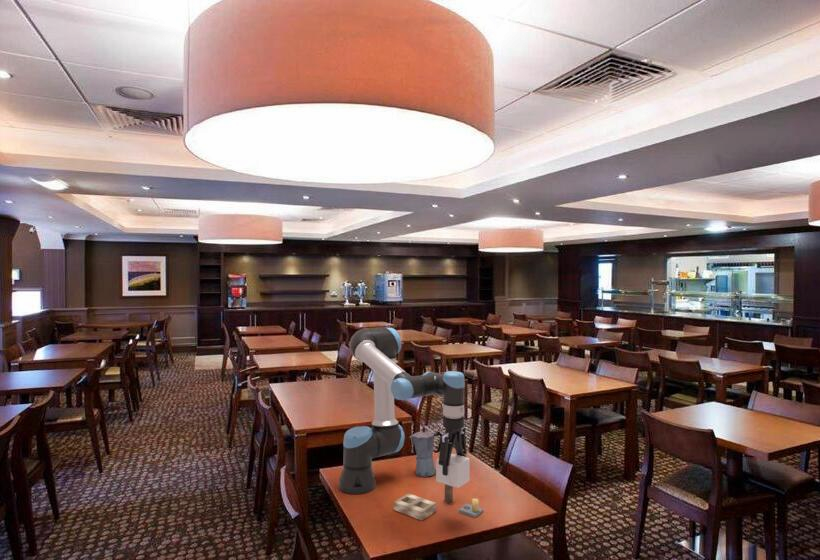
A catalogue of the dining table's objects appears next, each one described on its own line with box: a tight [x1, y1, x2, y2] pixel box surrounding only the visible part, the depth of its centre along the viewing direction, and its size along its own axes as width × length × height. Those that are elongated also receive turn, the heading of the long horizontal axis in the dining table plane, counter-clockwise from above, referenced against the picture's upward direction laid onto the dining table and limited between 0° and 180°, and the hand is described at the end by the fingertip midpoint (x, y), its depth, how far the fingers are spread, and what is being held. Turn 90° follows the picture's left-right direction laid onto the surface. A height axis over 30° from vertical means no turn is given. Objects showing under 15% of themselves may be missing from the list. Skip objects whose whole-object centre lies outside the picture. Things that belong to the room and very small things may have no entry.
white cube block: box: [435, 452, 471, 489], centre depth 172 cm, size 9×8×8 cm
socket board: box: [393, 492, 437, 521], centre depth 179 cm, size 13×9×3 cm
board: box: [458, 497, 484, 519], centre depth 179 cm, size 7×6×5 cm
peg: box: [444, 484, 454, 504], centre depth 187 cm, size 3×3×10 cm
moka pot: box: [409, 427, 444, 478], centre depth 214 cm, size 10×15×20 cm, turn 107°
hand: (452, 479), depth 172 cm, fingers closed on white cube block, 8 cm apart
